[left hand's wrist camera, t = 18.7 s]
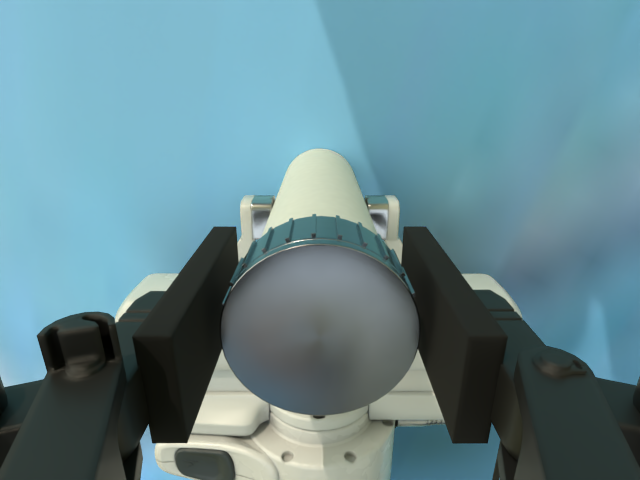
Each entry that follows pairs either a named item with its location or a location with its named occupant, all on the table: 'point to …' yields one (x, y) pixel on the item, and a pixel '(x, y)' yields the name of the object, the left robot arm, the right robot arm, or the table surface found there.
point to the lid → (320, 317)
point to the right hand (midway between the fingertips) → (319, 197)
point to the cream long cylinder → (319, 191)
